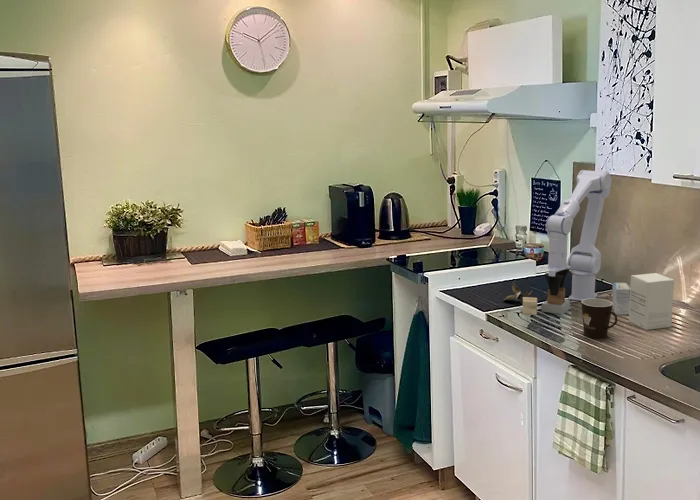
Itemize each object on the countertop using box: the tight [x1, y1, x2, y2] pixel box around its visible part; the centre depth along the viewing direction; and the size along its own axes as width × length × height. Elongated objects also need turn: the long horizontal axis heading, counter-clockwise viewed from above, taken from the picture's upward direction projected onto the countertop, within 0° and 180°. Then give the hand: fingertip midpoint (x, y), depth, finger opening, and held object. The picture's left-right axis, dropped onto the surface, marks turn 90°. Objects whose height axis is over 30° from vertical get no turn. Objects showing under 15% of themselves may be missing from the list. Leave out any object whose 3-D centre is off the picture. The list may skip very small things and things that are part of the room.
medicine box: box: [611, 282, 630, 316], centre depth 227 cm, size 8×4×9 cm, turn 168°
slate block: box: [541, 300, 571, 315], centre depth 231 cm, size 7×7×3 cm
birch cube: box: [522, 296, 538, 316], centre depth 229 cm, size 4×4×4 cm
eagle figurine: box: [502, 281, 533, 302], centre depth 240 cm, size 8×7×9 cm
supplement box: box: [628, 272, 675, 331], centre depth 213 cm, size 9×9×15 cm
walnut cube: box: [547, 287, 566, 305], centre depth 230 cm, size 4×4×4 cm
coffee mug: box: [580, 297, 618, 340], centre depth 204 cm, size 12×9×10 cm
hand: (556, 292), depth 230 cm, fingers open, 6 cm apart
